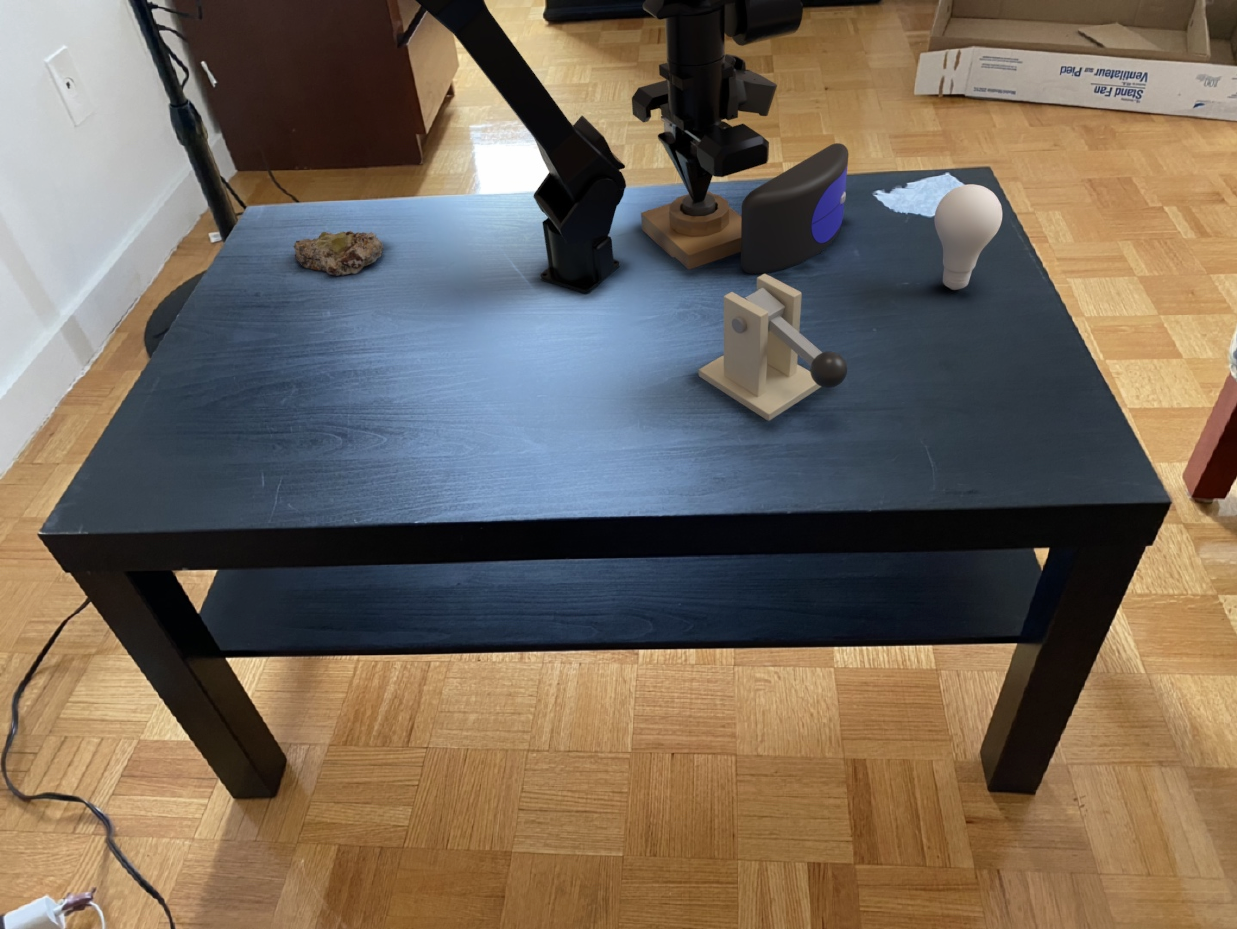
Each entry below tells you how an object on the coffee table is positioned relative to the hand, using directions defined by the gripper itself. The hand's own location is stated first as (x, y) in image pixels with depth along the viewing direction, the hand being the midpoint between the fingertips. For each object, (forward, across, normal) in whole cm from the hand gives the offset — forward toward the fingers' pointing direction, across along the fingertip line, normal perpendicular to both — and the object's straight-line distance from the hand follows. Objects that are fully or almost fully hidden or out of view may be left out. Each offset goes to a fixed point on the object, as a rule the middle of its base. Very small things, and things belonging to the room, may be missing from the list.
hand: (698, 200), depth 104 cm
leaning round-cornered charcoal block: (+5, -7, -8) cm, 12 cm away
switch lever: (-1, -29, +7) cm, 30 cm away
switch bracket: (+5, -26, +8) cm, 27 cm away
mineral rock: (+5, +19, +36) cm, 42 cm away
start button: (+2, 0, 0) cm, 2 cm away
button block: (+5, 0, 0) cm, 5 cm away
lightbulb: (+5, -23, -17) cm, 29 cm away
